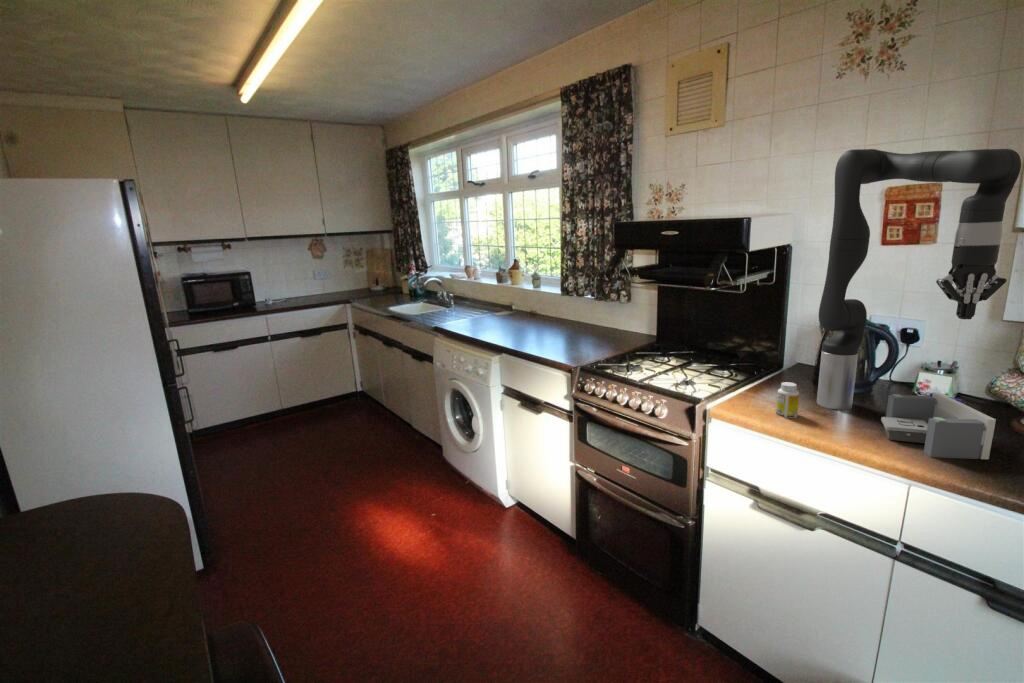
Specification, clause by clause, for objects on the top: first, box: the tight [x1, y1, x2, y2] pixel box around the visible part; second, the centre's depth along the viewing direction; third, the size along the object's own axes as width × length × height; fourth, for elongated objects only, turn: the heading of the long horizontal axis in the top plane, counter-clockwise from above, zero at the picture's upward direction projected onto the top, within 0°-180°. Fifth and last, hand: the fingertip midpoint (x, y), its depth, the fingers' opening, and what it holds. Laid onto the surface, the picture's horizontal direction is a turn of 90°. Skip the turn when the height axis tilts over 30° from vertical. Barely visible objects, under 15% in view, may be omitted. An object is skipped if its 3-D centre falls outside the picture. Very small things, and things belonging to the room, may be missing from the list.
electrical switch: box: [880, 416, 928, 444], centre depth 125 cm, size 9×5×9 cm
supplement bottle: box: [775, 381, 800, 419], centre depth 142 cm, size 6×6×10 cm
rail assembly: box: [885, 391, 997, 460], centre depth 122 cm, size 20×12×10 cm, turn 169°
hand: (964, 318), depth 111 cm, fingers closed
